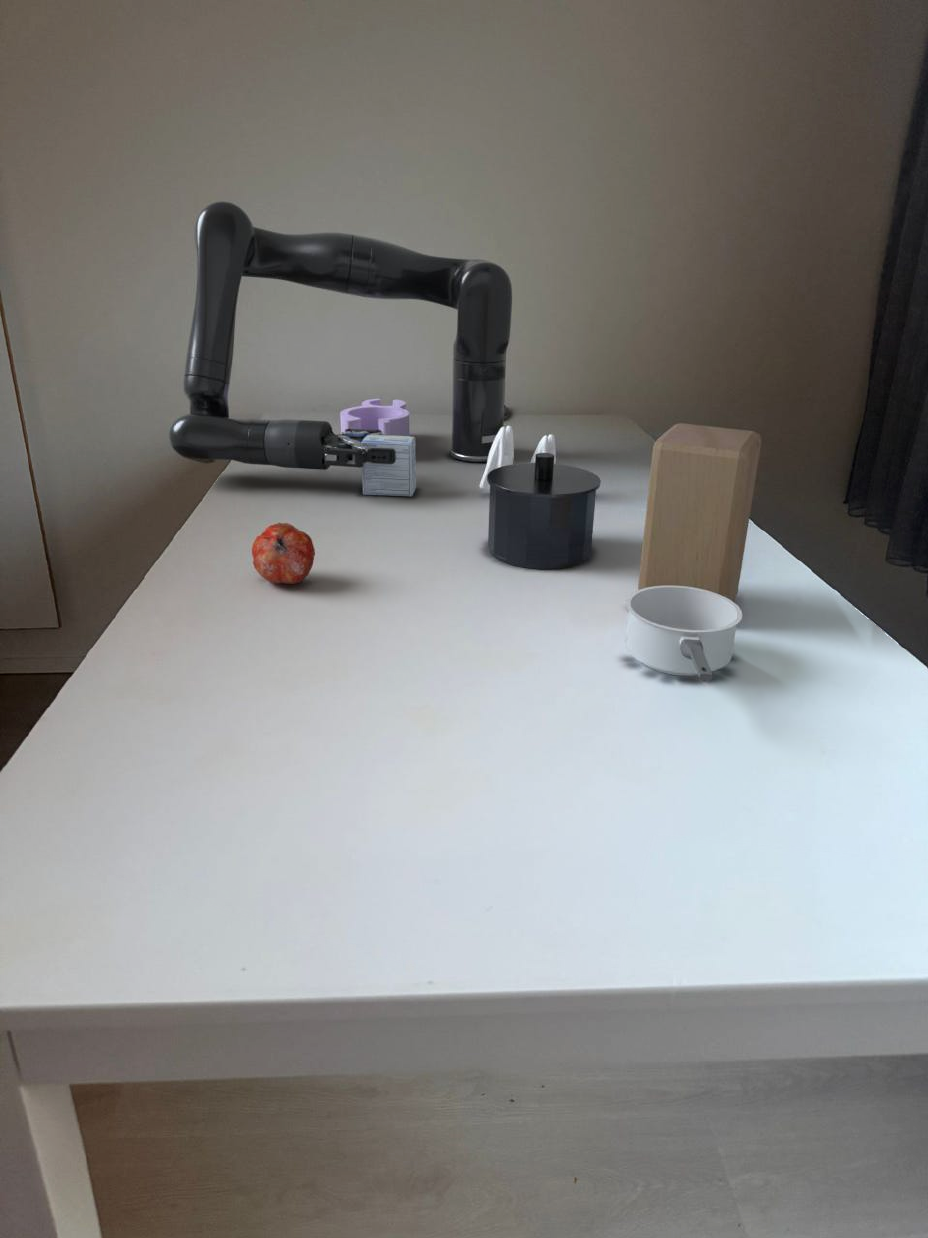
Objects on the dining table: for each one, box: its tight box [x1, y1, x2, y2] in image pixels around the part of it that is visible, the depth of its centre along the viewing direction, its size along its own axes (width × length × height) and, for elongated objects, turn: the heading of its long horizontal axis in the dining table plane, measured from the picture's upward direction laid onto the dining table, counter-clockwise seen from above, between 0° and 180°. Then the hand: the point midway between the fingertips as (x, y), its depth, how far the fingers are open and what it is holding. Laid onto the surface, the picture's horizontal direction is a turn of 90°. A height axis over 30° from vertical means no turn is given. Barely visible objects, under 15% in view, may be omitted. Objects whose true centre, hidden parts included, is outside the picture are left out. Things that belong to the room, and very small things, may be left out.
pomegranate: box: [251, 522, 316, 585], centre depth 109 cm, size 7×7×10 cm
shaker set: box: [479, 425, 557, 495], centre depth 141 cm, size 12×4×11 cm, turn 93°
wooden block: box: [637, 422, 762, 602], centre depth 101 cm, size 10×10×20 cm
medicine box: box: [361, 435, 417, 497], centre depth 142 cm, size 8×4×9 cm, turn 84°
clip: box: [339, 398, 410, 436], centre depth 168 cm, size 20×12×7 cm, turn 174°
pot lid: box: [487, 453, 601, 498], centre depth 116 cm, size 15×15×4 cm
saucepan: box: [625, 586, 743, 683], centre depth 88 cm, size 12×20×6 cm, turn 175°
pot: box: [487, 485, 597, 570], centre depth 119 cm, size 14×14×10 cm
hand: (400, 449), depth 140 cm, fingers open, 8 cm apart
